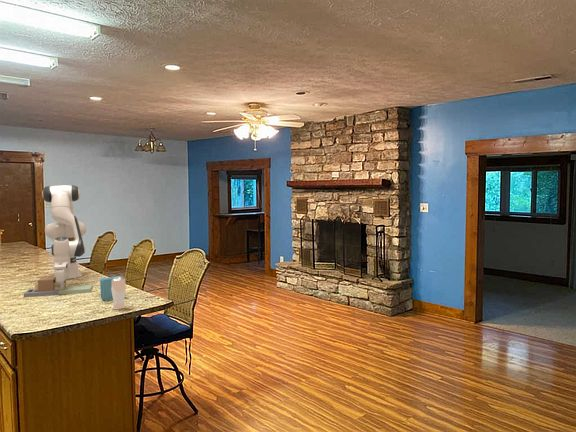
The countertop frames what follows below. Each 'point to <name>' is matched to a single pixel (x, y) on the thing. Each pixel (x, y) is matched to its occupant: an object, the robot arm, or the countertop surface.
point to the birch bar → (56, 286)
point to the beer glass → (118, 292)
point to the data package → (107, 288)
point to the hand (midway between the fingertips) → (63, 287)
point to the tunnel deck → (48, 289)
